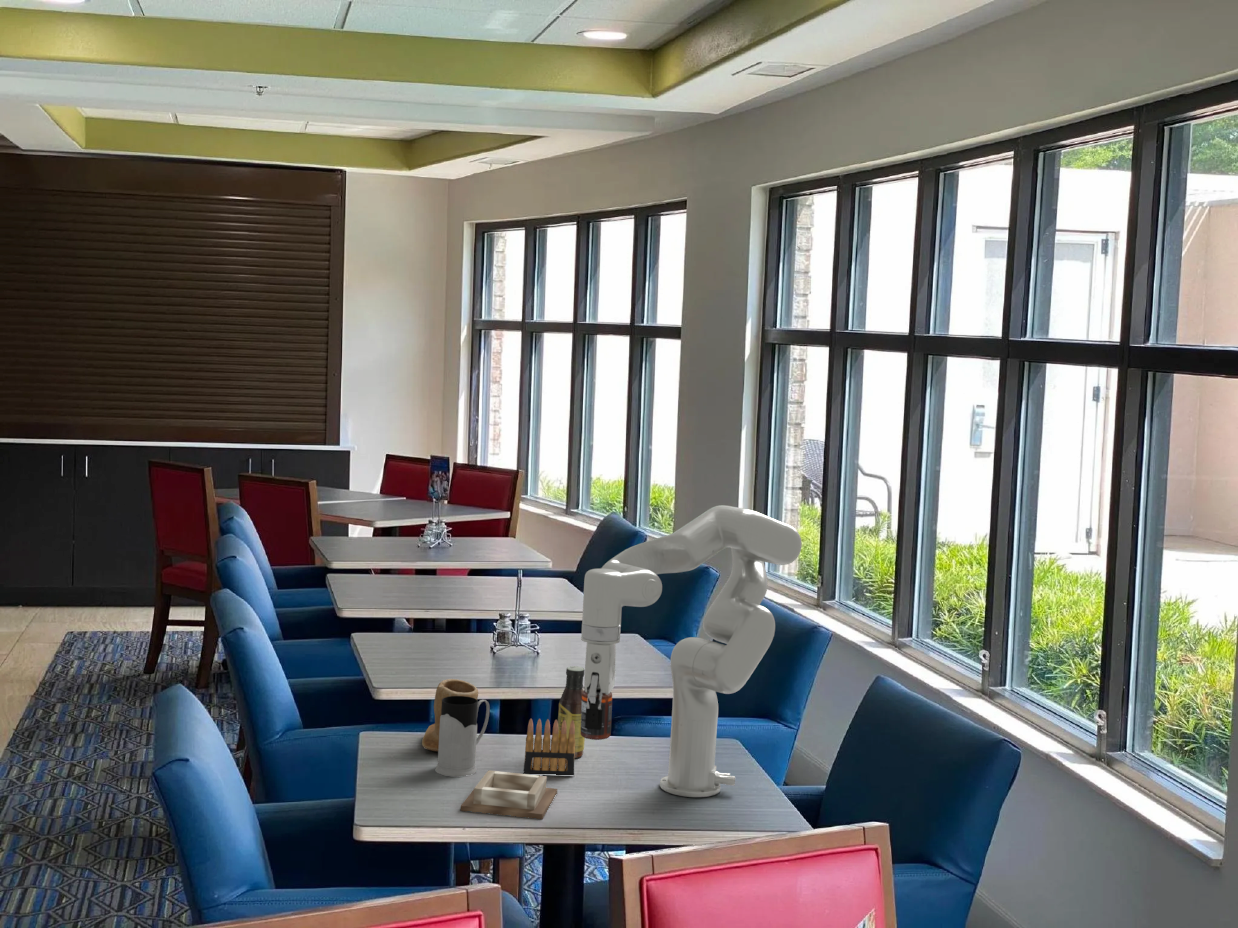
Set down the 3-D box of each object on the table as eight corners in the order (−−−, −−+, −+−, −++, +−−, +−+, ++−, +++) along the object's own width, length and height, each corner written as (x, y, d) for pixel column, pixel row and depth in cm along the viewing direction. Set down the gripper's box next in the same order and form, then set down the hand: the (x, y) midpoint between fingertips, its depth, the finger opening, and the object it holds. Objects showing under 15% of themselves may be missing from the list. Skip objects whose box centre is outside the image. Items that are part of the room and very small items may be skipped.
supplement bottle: (606, 731, 265) (609, 675, 264) (614, 740, 259) (617, 682, 258) (576, 732, 263) (579, 675, 262) (584, 741, 257) (587, 683, 256)
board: (557, 793, 271) (558, 774, 271) (542, 819, 255) (543, 798, 255) (479, 785, 273) (481, 766, 273) (460, 810, 257) (461, 790, 257)
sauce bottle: (554, 750, 301) (560, 663, 299) (582, 751, 301) (587, 664, 300) (556, 759, 294) (561, 670, 293) (585, 760, 295) (590, 671, 293)
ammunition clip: (573, 774, 285) (576, 719, 284) (574, 777, 283) (577, 721, 282) (523, 772, 284) (526, 717, 283) (523, 775, 282) (526, 719, 281)
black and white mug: (426, 770, 281) (430, 699, 280) (470, 756, 293) (473, 688, 292) (458, 779, 276) (462, 707, 275) (501, 764, 288) (505, 696, 287)
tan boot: (472, 757, 292) (475, 690, 291) (417, 754, 292) (420, 686, 291) (479, 738, 307) (483, 674, 306) (427, 735, 307) (431, 671, 306)
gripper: (614, 643, 250) (608, 737, 252) (625, 626, 267) (620, 714, 269) (574, 640, 251) (569, 734, 253) (588, 623, 268) (583, 711, 270)
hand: (596, 723), depth 261 cm, fingers closed on supplement bottle, 6 cm apart
